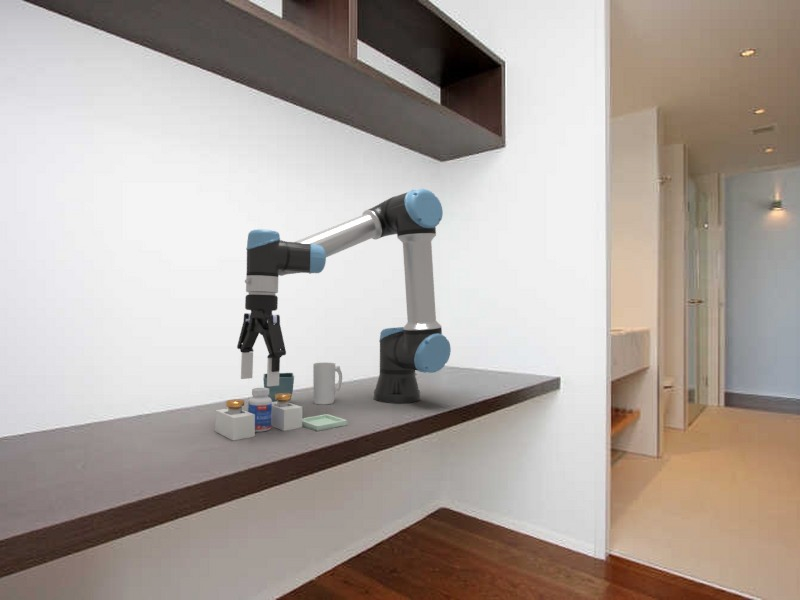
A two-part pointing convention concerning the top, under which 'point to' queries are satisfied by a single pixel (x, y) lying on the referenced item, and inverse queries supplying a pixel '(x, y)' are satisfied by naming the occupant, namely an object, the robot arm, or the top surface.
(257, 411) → the pill bottle
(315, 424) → the tray
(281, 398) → the plunger
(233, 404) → the plunger
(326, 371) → the mug
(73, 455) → the top surface
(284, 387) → the flower pot
